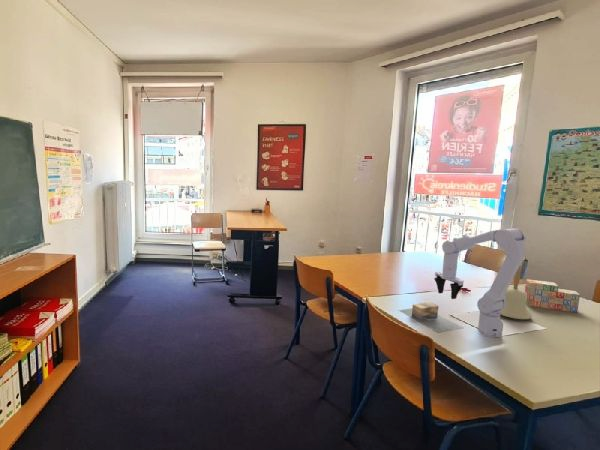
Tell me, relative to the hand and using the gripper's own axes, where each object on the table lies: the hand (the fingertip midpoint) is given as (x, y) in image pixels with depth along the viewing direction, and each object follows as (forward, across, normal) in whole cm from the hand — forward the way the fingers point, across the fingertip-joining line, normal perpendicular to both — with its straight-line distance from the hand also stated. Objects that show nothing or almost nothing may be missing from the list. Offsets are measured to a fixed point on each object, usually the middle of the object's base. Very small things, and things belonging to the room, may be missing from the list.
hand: (446, 295), depth 156 cm
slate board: (+9, +3, -12) cm, 15 cm away
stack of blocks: (+10, +8, +61) cm, 62 cm away
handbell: (+10, +10, +31) cm, 34 cm away
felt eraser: (+8, 0, -12) cm, 14 cm away
